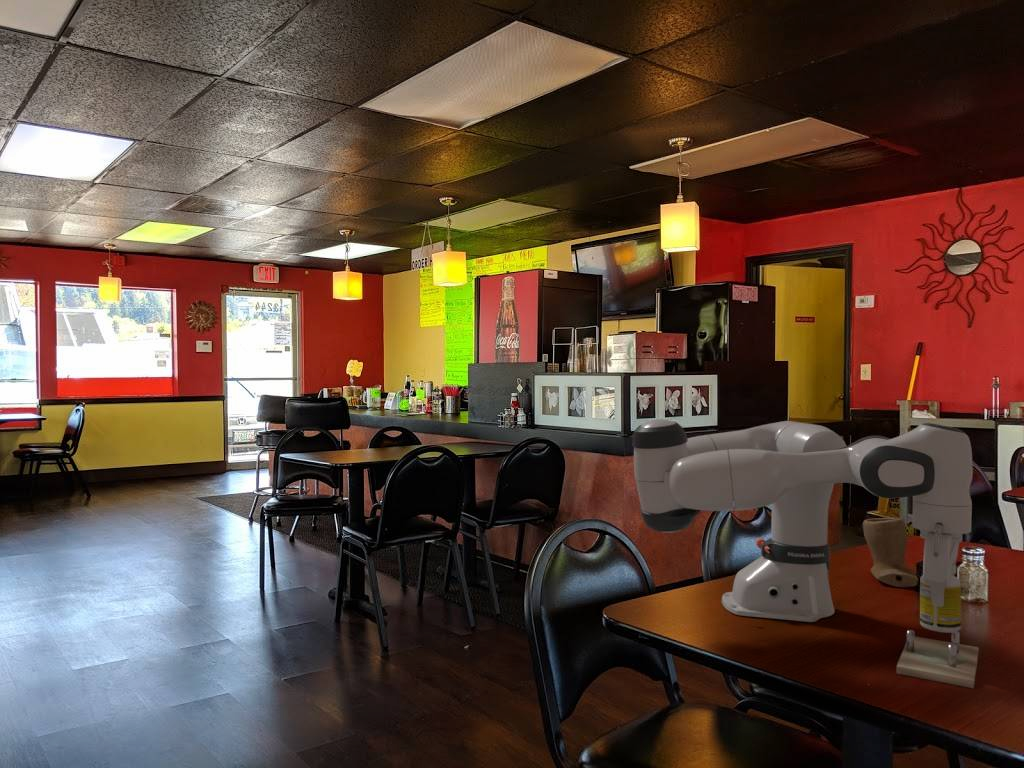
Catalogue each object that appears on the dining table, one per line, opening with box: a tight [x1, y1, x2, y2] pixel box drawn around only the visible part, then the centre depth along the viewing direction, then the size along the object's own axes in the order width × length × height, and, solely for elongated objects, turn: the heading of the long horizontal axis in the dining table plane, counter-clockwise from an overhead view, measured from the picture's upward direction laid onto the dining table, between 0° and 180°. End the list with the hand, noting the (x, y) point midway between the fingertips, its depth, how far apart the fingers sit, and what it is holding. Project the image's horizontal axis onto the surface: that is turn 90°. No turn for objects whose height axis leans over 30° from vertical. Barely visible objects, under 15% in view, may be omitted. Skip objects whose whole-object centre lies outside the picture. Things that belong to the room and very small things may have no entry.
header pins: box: [905, 629, 961, 667], centre depth 135 cm, size 9×8×4 cm
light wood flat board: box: [895, 635, 979, 689], centre depth 134 cm, size 18×11×1 cm, turn 147°
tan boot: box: [862, 517, 918, 588], centre depth 188 cm, size 15×12×15 cm
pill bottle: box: [919, 563, 962, 634], centre depth 134 cm, size 6×6×11 cm
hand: (939, 599), depth 134 cm, fingers closed on pill bottle, 6 cm apart
